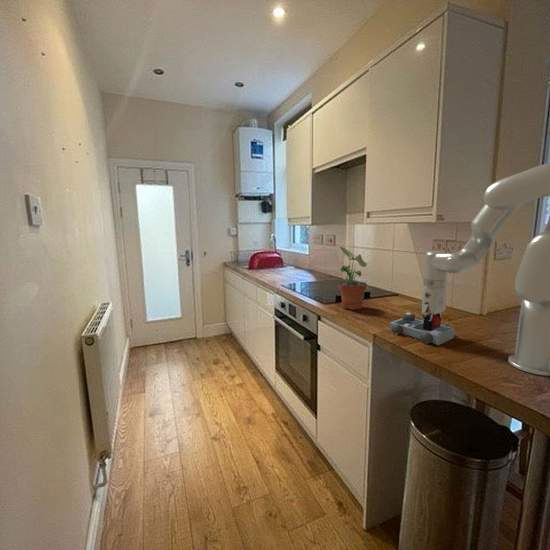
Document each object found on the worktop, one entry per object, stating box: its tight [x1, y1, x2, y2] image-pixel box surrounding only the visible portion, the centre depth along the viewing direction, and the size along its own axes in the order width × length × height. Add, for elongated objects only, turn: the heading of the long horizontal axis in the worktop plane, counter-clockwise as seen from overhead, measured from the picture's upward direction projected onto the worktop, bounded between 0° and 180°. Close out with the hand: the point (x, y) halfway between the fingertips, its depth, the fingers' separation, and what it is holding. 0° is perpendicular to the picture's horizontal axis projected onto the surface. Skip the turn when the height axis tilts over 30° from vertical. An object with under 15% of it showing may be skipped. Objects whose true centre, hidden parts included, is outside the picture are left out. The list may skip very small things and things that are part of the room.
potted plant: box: [338, 246, 369, 310], centre depth 159 cm, size 16×15×35 cm
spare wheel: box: [402, 312, 416, 321], centre depth 127 cm, size 5×5×2 cm
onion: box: [427, 314, 441, 331], centre depth 119 cm, size 6×6×8 cm
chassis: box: [389, 316, 456, 346], centre depth 123 cm, size 20×17×4 cm
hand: (431, 327), depth 119 cm, fingers closed on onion, 5 cm apart
